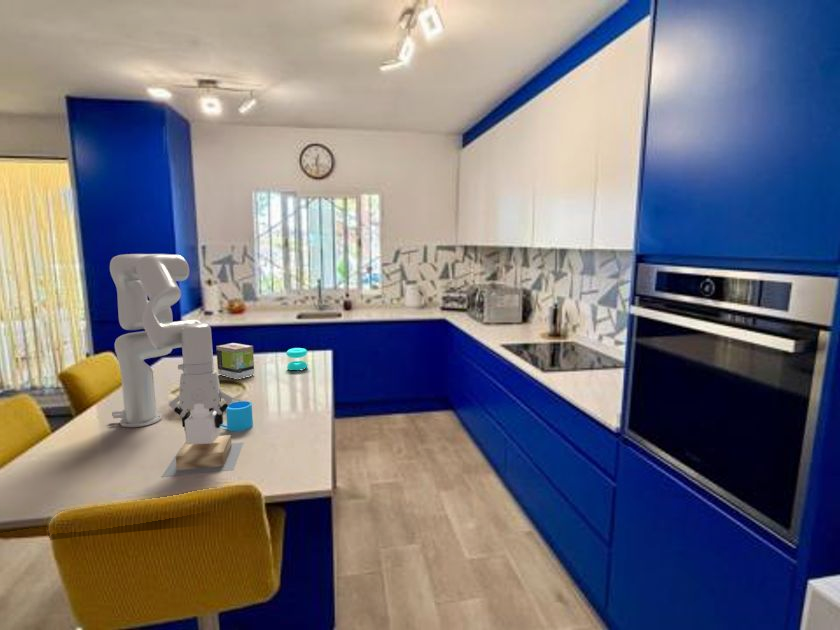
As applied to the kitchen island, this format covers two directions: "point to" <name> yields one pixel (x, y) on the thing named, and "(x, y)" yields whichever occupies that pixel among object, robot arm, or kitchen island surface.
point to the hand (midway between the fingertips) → (203, 427)
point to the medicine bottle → (201, 426)
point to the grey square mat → (227, 466)
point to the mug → (239, 416)
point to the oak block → (204, 454)
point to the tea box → (235, 360)
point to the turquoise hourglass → (296, 354)
